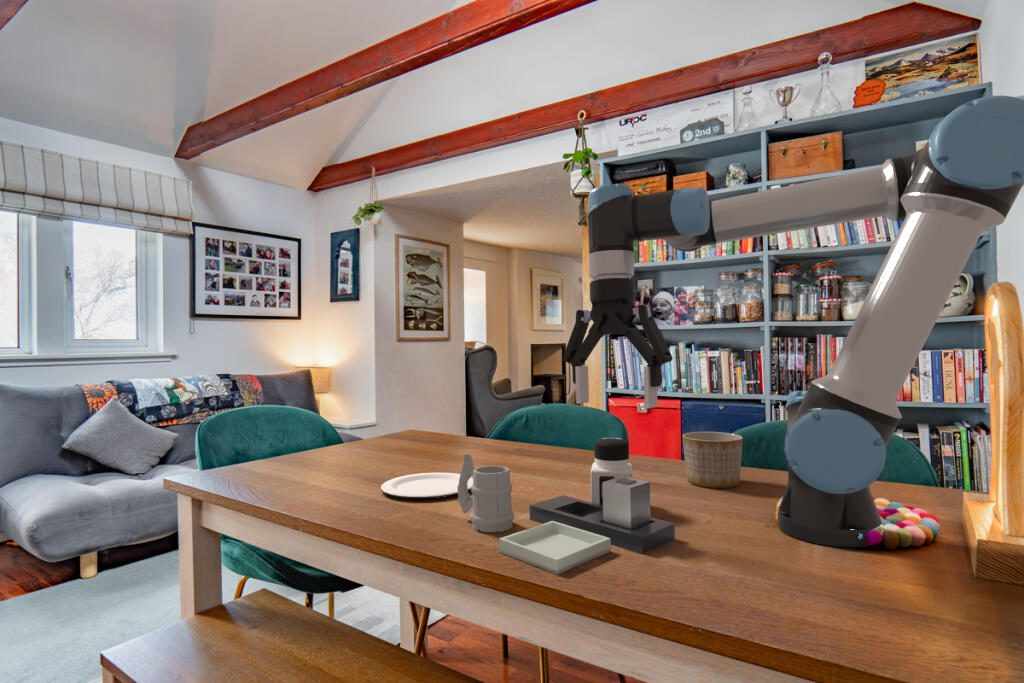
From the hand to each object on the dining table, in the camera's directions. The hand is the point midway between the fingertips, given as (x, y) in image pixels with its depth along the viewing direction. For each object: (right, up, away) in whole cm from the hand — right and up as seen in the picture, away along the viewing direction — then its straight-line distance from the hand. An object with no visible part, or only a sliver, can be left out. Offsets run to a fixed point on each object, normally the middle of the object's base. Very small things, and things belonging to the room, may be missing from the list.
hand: (615, 405), depth 95 cm
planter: (+27, -21, +30) cm, 46 cm away
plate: (-36, -22, +29) cm, 51 cm away
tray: (-11, -21, -9) cm, 26 cm away
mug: (-22, -22, +5) cm, 32 cm away
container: (+2, -21, +14) cm, 25 cm away
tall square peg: (+1, -21, -3) cm, 21 cm away
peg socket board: (-3, -21, +1) cm, 21 cm away
